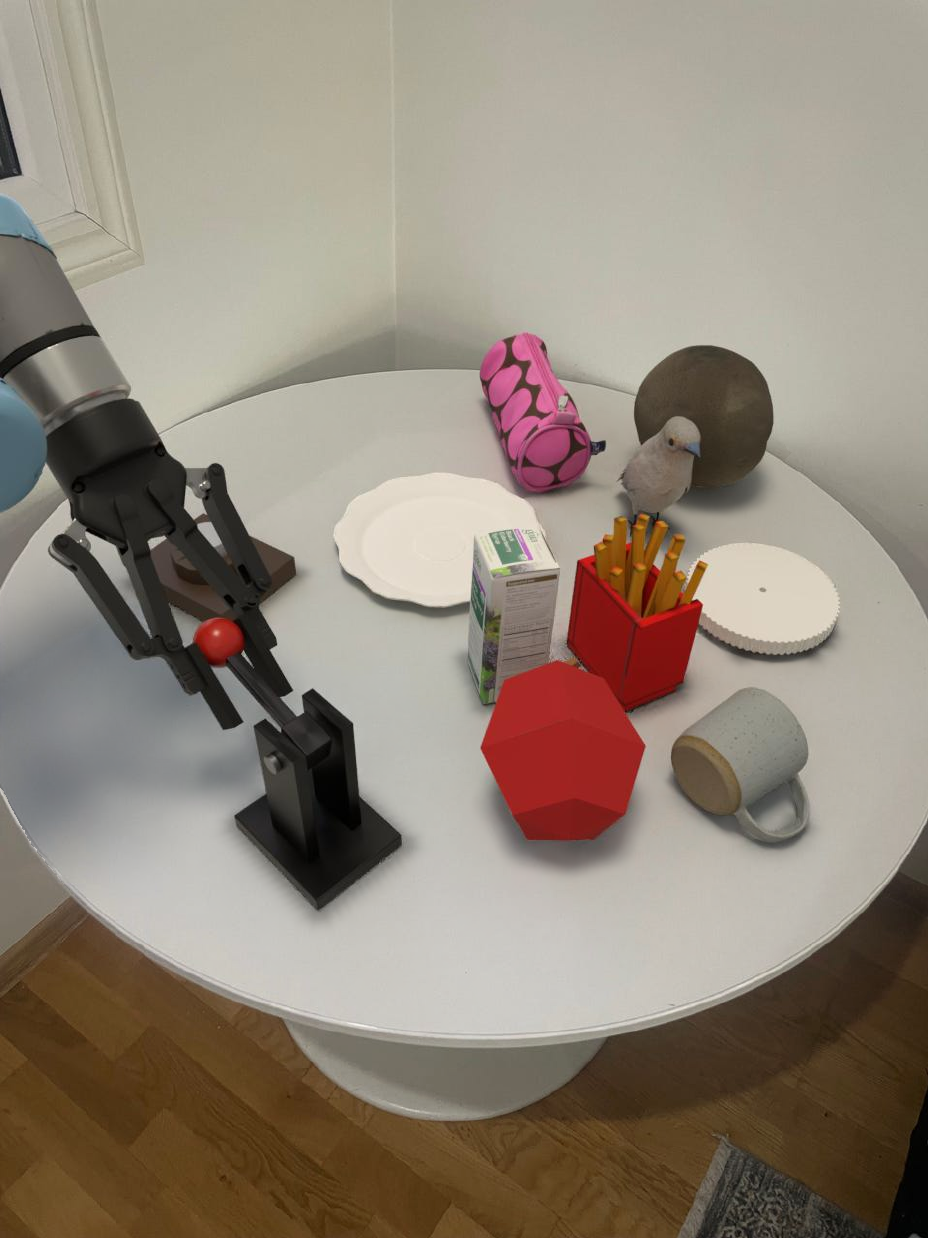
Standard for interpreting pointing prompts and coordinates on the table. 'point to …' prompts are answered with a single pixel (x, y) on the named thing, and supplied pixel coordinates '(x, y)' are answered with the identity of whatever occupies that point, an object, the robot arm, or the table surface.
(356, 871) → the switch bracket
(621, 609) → the french fries container
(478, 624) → the syrup box
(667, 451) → the bird
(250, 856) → the table surface
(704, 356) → the brown round ball
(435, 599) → the plate
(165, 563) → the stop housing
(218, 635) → the power lever
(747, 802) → the ceramic mug
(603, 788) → the red faceted polyhedron
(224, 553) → the stop button
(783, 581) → the plastic lid
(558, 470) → the pencil case
